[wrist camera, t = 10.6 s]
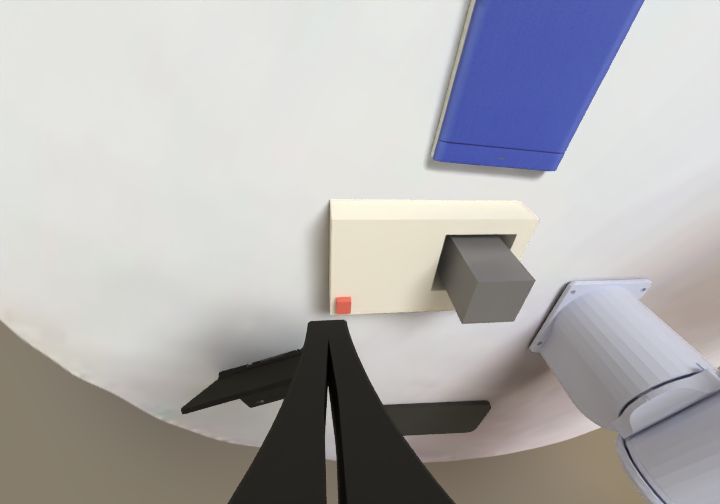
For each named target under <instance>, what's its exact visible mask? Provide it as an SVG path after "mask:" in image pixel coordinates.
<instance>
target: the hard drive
mask: <svg viewBox="0 0 720 504" xmlns="http://www.w3.org/2000/svg"><path fill="white" fill-rule="evenodd" d="M643 2H644V0H471V2H470V6H469V10H468V13H467V17H466V21H465V25H464V29H463V33H462V36H461V40H460V44H459V48H458V52H457V56H456V60H455V63H454V67H453V71H452V75H451V79H450V83H449V86H448V90H447V94H446V98H445V102H444V106H443V110H442V113H441V117H440V121H439V125H438V129H437V133H436V137H435V140H434V144H433V148H432V152H431V157H432V158H433V159H434V160H436V161H441V162H450V163H461V164H473V165H485V166H496V167H508V168H519V169H530V170H542V171H555V170H556V169H557V167H558V165H559V163H560V161H561V159H562V158H563V156H564V153H565V151H566V149H567V147H568V145H569V143H570V141H571V139H572V138H573V136H574V134H575V132H576V130H577V128H578V126H579V124H580V122H581V120H582V118H583V116H584V115H585V113H586V111H587V109H588V107H589V105H590V103H591V101H592V99H593V97H594V95H595V94H596V92H597V90H598V88H599V86H600V84H601V82H602V80H603V79H604V77H605V75H606V73H607V71H608V69H609V67H610V65H611V63H612V61H613V59H614V58H615V56H616V54H617V52H618V50H619V48H620V46H621V44H622V42H623V40H624V39H625V37H626V35H627V33H628V31H629V29H630V27H631V25H632V23H633V21H634V19H635V18H636V16H637V14H638V12H639V10H640V8H641V6H642V4H643Z"/></svg>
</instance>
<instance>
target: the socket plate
mask: <svg viewBox="0 0 720 504" xmlns="http://www.w3.org/2000/svg"><path fill="white" fill-rule="evenodd" d="M539 220H540V219H539V218H538V217H537V216H536V215H535V214H533V213H532V212H531V211H530V210H529V209H528V208H527V207H526V206H525V205H524V204H522V203H521V202H520V201H494V200H343V199H330V254H329V299H330V315H347V314H372V313H396V312H420V311H445V310H455V308H454V306H453V304H452V302H451V300H450V298H449V295H448V293H447V291H446V289H445V287H444V285H443V283H442V281H441V279H440V277H439V275H438V272H437V268H438V265H439V261H440V257H441V254H442V247H443V244H444V240H445V238H446V236H447V235H471V234H497V235H498V236H499V237H500V238H501V240H502V241H503V242H504V243H505V244H506V246H507V247H508V248H509V249H510V250H511V252H512V253H513V254H514V255H515V256H516V258H517V259H518V260H519V261H521V259H522V257H523V254H524V252H525V250H526V248H527V246H528V244H529V242H530V239H531V237H532V235H533V233H534V231H535V229H536V227H537V224H538V222H539Z"/></svg>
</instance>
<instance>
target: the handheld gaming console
mask: <svg viewBox="0 0 720 504" xmlns="http://www.w3.org/2000/svg"><path fill="white" fill-rule="evenodd" d="M302 350H303V348H301V350H299V349H298V350H297V351H295V350H294V351H291V352H288V353H284V354H280V355H277V356H274V357H270V358H267V359H264V360H261V361H257V362H254V363H252V365H248V364H247V365H244V366H240V367H237V368H234V369H233V368H232V369H229V370H226V371H222V372H219V377H218V380H217V381H215V382H214V383H213V384H211V385H210V386H209V387H208V388H206V389H205V390H204V391H202V392H201V393H200V394H199V395H197V396H196V397H195V398H194V399H192V400H191V401H190V402H189V403H187V404H186V405H185V406H183V407H182V408H181V412H182V414H187V413H190V412H194V411H197V410H201V409H204V408H208V407H211V406H215V405H219V404H222V403H226V402H229V401H233V400H236V399H241V400H242V401H243V402H244V403H245V404H246V405H248V406H249V407H250V408H252V407H256V406H259V405H263V404H267V403H270V402H274V401H278V400H281V399H285V396H286V394H287V392H288V389H289V387H290V384H291V382H292V379H293V377H294V374H295V371H296V368H297V365H298V362H299V360H300V357H301V353H302Z"/></svg>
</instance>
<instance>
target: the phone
mask: <svg viewBox="0 0 720 504" xmlns="http://www.w3.org/2000/svg"><path fill="white" fill-rule="evenodd" d="M383 406H384V407H385V409H386V411H387V412H388V414H389V416H390V417H391V419H392V420H393V422H394V423H395V425H396V426H397V428H398V429H399V431H400V433H401V434H402V436H405V435H426V434H446V433H466V432H471V431H473V430H475V429H476V428H477V427H478V425H479V424H480V423H481V421H482V420H483V419H484V417H485V416H486V415H487V413H488V412H489V410H490V409H491V406H490V403H489V402H488V401H462V402H439V403H416V404H394V405H383Z"/></svg>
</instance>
